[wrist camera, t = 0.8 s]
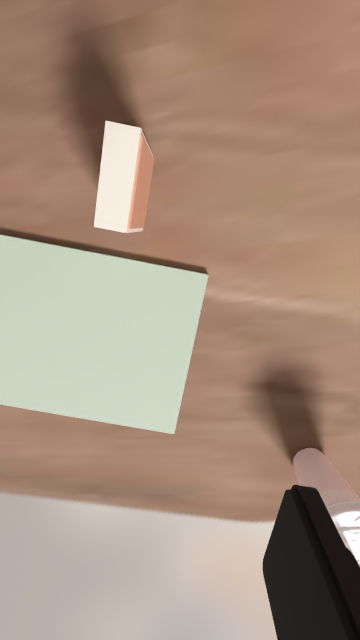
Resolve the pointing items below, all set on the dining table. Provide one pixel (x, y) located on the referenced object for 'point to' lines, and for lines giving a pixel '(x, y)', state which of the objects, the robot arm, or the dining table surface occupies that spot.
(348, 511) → the smoothie
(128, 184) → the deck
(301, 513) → the robot arm
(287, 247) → the dining table surface
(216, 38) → the dining table surface
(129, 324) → the mat
